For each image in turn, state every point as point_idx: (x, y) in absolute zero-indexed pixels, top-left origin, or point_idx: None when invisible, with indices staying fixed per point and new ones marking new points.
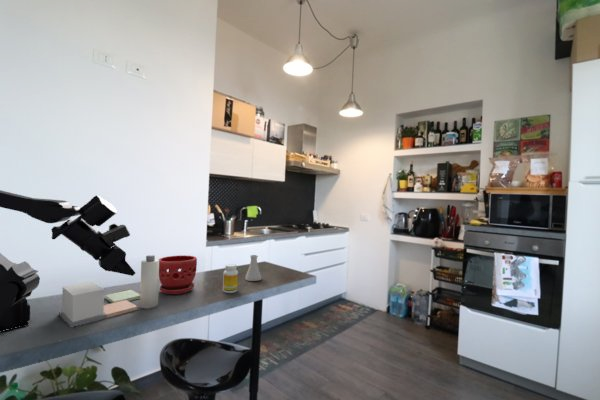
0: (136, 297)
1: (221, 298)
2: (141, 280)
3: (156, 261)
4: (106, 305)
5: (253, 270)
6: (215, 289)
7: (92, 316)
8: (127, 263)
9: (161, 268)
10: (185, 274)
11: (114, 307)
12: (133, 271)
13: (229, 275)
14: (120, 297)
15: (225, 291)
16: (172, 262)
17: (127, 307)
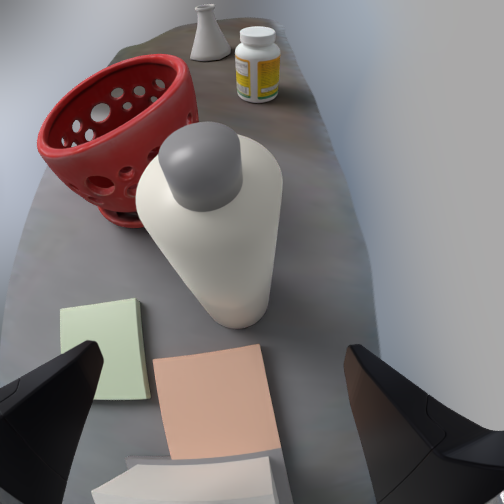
0: (137, 317)
1: (304, 120)
2: (232, 300)
3: (256, 151)
4: (175, 432)
5: (218, 35)
6: (222, 110)
7: (275, 485)
8: (449, 410)
9: (117, 169)
10: (198, 120)
11: (217, 416)
12: (373, 358)
13: (276, 57)
14: (113, 367)
15: (266, 100)
16: (160, 108)
17: (248, 376)
